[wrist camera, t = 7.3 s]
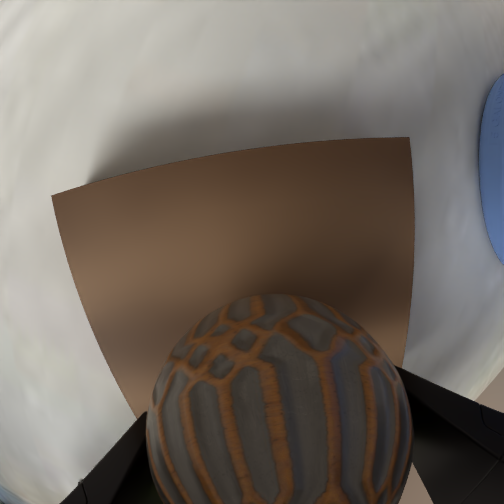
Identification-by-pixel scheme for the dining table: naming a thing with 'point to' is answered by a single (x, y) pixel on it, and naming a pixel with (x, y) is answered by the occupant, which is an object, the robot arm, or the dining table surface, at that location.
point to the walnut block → (241, 244)
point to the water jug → (493, 166)
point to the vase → (279, 410)
